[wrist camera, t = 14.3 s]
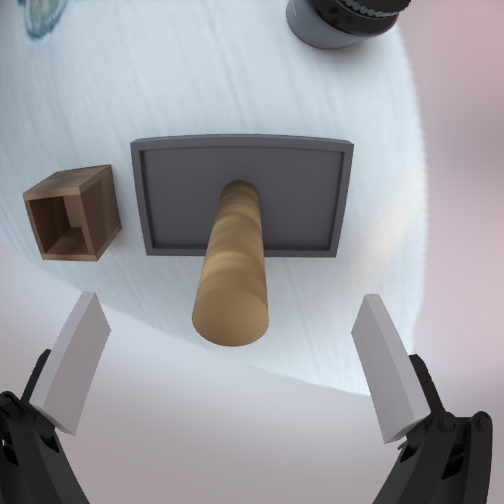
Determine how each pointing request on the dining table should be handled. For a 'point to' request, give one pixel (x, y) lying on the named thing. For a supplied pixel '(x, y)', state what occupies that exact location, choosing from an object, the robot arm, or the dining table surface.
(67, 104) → the dining table surface
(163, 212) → the tray
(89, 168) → the box
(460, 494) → the robot arm
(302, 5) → the supplement bottle
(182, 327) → the dining table surface
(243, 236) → the dowel
